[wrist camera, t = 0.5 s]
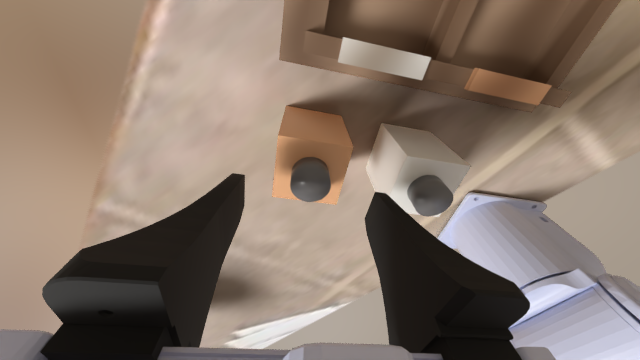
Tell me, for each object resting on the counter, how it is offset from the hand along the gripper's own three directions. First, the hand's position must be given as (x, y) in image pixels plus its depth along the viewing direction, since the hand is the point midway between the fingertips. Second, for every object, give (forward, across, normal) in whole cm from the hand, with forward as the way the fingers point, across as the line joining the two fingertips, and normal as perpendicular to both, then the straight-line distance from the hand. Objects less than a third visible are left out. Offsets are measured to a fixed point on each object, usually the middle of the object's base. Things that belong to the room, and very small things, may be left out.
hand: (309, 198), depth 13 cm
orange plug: (+8, 0, 0) cm, 9 cm away
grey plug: (+8, -8, 0) cm, 12 cm away
